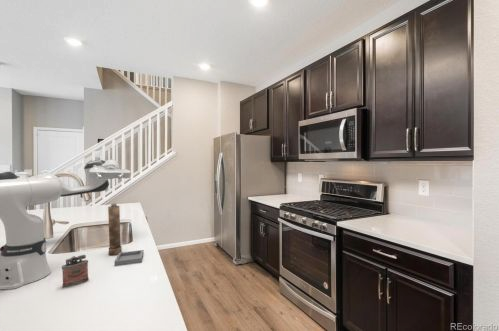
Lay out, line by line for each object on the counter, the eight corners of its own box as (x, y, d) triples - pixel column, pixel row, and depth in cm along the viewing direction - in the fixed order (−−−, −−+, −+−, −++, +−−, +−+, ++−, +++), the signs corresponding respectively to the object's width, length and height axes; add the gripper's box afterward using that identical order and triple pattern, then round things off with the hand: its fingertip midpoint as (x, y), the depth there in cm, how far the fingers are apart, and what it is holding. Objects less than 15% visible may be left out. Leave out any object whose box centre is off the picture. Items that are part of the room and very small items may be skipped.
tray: (114, 266, 107) (114, 261, 107) (119, 256, 117) (119, 252, 117) (141, 262, 110) (141, 258, 110) (143, 253, 120) (143, 249, 120)
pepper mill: (107, 256, 118) (105, 204, 118) (110, 252, 124) (108, 202, 123) (120, 254, 120) (119, 203, 119) (122, 250, 125) (121, 201, 125)
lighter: (62, 288, 89) (61, 261, 88) (61, 285, 91) (61, 258, 91) (89, 281, 94) (88, 255, 94) (87, 278, 97) (87, 252, 96)
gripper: (130, 176, 150) (131, 183, 138) (90, 176, 140) (87, 183, 128) (130, 166, 148) (131, 172, 136) (90, 165, 139) (87, 171, 127)
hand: (109, 177), depth 132 cm, fingers open, 8 cm apart
